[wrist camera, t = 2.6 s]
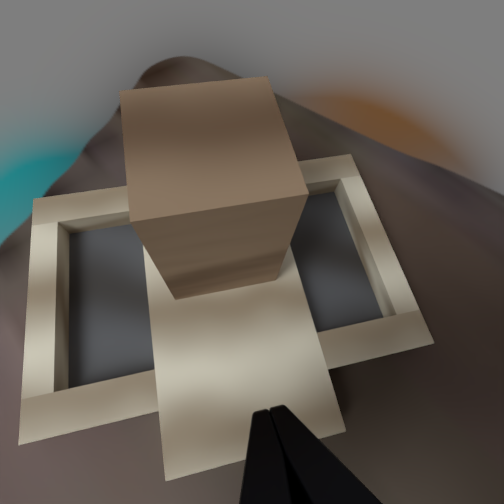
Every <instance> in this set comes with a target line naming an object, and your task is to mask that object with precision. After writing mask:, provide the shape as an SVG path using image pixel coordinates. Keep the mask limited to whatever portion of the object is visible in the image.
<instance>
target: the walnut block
mask: <svg viewBox="0 0 504 504" xmlns="http://www.w3.org/2000/svg"><path fill="white" fill-rule="evenodd" d="M119 92H120V105H121V117H122V130H123V142H124V154H125V167H126V179H127V192H128V204H129V216H130V223H131V225H132V226H133V228H134V230H135V232H136V233H137V235H138V237H139V239H140V240H141V242H142V244H143V245H144V247H145V249H146V251H147V252H148V254H149V256H150V257H151V259H152V261H153V263H154V264H155V266H156V268H157V270H158V271H159V273H160V275H161V276H162V278H163V280H164V282H165V283H166V285H167V287H168V288H169V290H170V292H171V294H172V295H173V297H174V299H175V300H179V299H184V298H189V297H194V296H199V295H204V294H209V293H214V292H219V291H225V290H230V289H235V288H240V287H245V286H250V285H255V284H260V283H265V282H270V281H275V280H276V278H277V276H278V273H279V271H280V268H281V265H282V263H283V260H284V258H285V255H286V252H287V250H288V247H289V245H290V242H291V239H292V237H293V234H294V232H295V229H296V226H297V224H298V221H299V219H300V216H301V213H302V211H303V208H304V206H305V203H306V200H307V198H308V195H309V192H308V189H307V186H306V184H305V181H304V178H303V175H302V172H301V169H300V167H299V164H298V161H297V158H296V155H295V153H294V150H293V147H292V144H291V141H290V138H289V136H288V133H287V130H286V127H285V124H284V121H283V119H282V116H281V113H280V110H279V107H278V104H277V102H276V99H275V96H274V93H273V90H272V88H271V85H270V82H269V79H268V77H267V76H264V77H255V78H244V79H234V80H224V81H214V82H204V83H194V84H184V85H173V86H163V87H153V88H143V89H133V90H124V91H119Z"/></svg>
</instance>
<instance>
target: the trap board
mask: <svg viewBox="0 0 504 504" xmlns="http://www.w3.org/2000/svg"><path fill="white" fill-rule="evenodd" d="M298 164H299V167H300V169H301V172H302V175H303V178H304V181H305V184H306V186H307V189H308V192H309V195H308V198H307V200H306V203H305V206H304V208H303V211H302V213H301V216H300V219H299V221H298V224H297V226H296V229H295V232H294V234H293V237H292V239H291V242H290V245H289V247H288V250H287V252H286V255H285V258H284V260H283V263H282V265H281V268H280V271H279V273H278V276H277V278H276V280H275V281H270V282H265V283H260V284H255V285H250V286H245V287H240V288H235V289H230V290H225V291H219V292H214V293H209V294H204V295H199V296H194V297H189V298H184V299H179V300H175V299H174V297H173V295H172V294H171V292H170V290H169V288H168V287H167V285H166V283H165V282H164V280H163V278H162V276H161V275H160V273H159V271H158V270H157V268H156V266H155V264H154V263H153V261H152V259H151V257H150V256H149V254H148V252H147V251H146V249H145V247H144V245H143V244H142V242H141V240H140V239H139V237H138V235H137V233H136V232H135V230H134V228H133V226H132V225H131V223H130V216H129V204H128V192H127V186H122V187H115V188H108V189H101V190H94V191H87V192H80V193H73V194H66V195H58V196H51V197H44V198H37V199H33V200H34V201H33V215H32V232H31V248H30V265H29V281H28V297H27V314H26V330H25V347H24V363H23V380H22V396H21V413H20V429H19V445H21V444H26V443H30V442H35V441H39V440H43V439H47V438H51V437H55V436H59V435H64V434H68V433H72V432H76V431H80V430H84V429H88V428H92V427H96V426H100V425H104V424H108V423H113V422H117V421H121V420H125V419H129V418H133V417H137V416H141V415H145V414H149V413H153V412H157V411H159V418H160V428H161V439H162V449H163V460H164V470H165V481H169V480H172V479H176V478H180V477H183V476H187V475H190V474H194V473H198V472H201V471H205V470H209V469H212V468H216V467H219V466H223V465H227V464H230V463H234V462H237V461H241V460H245V459H246V453H247V446H248V439H249V432H250V425H251V418H252V414H253V412H255V411H258V410H262V409H268V410H269V409H270V408H271V407H274V406H278V405H282V404H283V405H285V406H287V407H288V408H289V409H290V410H291V411H292V412H293V413H294V414H295V415H296V416H297V418H298V419H299V420H300V421H301V422H302V423H303V424H304V425H305V426H306V427H307V428H308V429H309V430H310V431H311V432H312V433H313V434H314V435H315V436H316V437H317V438H318V439H320V438H324V437H328V436H331V435H335V434H338V433H342V432H346V428H345V425H344V422H343V419H342V415H341V412H340V409H339V405H338V402H337V399H336V395H335V392H334V389H333V385H332V382H331V379H330V375H329V372H328V370H329V369H333V368H337V367H341V366H345V365H349V364H353V363H358V362H362V361H366V360H370V359H374V358H378V357H382V356H386V355H390V354H394V353H398V352H402V351H407V350H411V349H415V348H419V347H422V346H426V345H430V344H434V341H433V339H432V336H431V334H430V332H429V330H428V327H427V325H426V323H425V321H424V318H423V316H422V314H421V312H420V309H419V307H418V305H417V303H416V300H415V298H414V296H413V293H412V291H411V289H410V287H409V284H408V282H407V280H406V278H405V275H404V273H403V271H402V269H401V266H400V264H399V262H398V260H397V257H396V255H395V253H394V251H393V248H392V246H391V244H390V242H389V239H388V237H387V235H386V233H385V230H384V228H383V226H382V224H381V221H380V219H379V217H378V214H377V212H376V210H375V208H374V205H373V203H372V201H371V199H370V196H369V194H368V192H367V190H366V187H365V185H364V183H363V181H362V178H361V176H360V174H359V172H358V169H357V167H356V165H355V163H354V160H353V158H352V156H351V154H348V155H341V156H334V157H327V158H320V159H312V160H305V161H298Z"/></svg>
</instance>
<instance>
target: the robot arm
mask: <svg viewBox="0 0 504 504" xmlns="http://www.w3.org/2000/svg"><path fill="white" fill-rule="evenodd" d="M239 504H382V503H381V502H380V501H379V500H378V499H377V498H376V497H375V496H374V495H373V494H372V493H371V492H370V491H369V490H368V489H367V488H366V487H365V485H364V484H363V483H362V482H361V481H360V480H359V479H358V478H357V477H356V476H355V475H354V474H353V473H352V472H351V471H350V470H349V469H348V468H347V467H346V466H345V465H344V464H343V463H342V462H341V461H340V460H339V459H338V458H337V457H336V456H335V455H334V454H333V453H332V452H331V451H330V450H329V449H328V448H327V447H326V446H325V445H324V444H323V443H322V442H321V441H320V440H319V439H318V438H317V437H316V436H315V435H314V434H313V433H312V432H311V431H310V430H309V429H308V428H307V427H306V426H305V425H304V424H303V423H302V422H301V421H300V420H299V419H298V418H297V416H296V415H295V414H294V413H293V412H292V411H291V410H290V409H289V408H288V407H287V406H285V405H283V404H282V405H278V406H274V407H271V408H270V409H269V410H268V409H262V410H258V411H255V412H253V414H252V418H251V425H250V432H249V439H248V446H247V453H246V459H245V466H244V473H243V480H242V487H241V494H240V500H239Z"/></svg>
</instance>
